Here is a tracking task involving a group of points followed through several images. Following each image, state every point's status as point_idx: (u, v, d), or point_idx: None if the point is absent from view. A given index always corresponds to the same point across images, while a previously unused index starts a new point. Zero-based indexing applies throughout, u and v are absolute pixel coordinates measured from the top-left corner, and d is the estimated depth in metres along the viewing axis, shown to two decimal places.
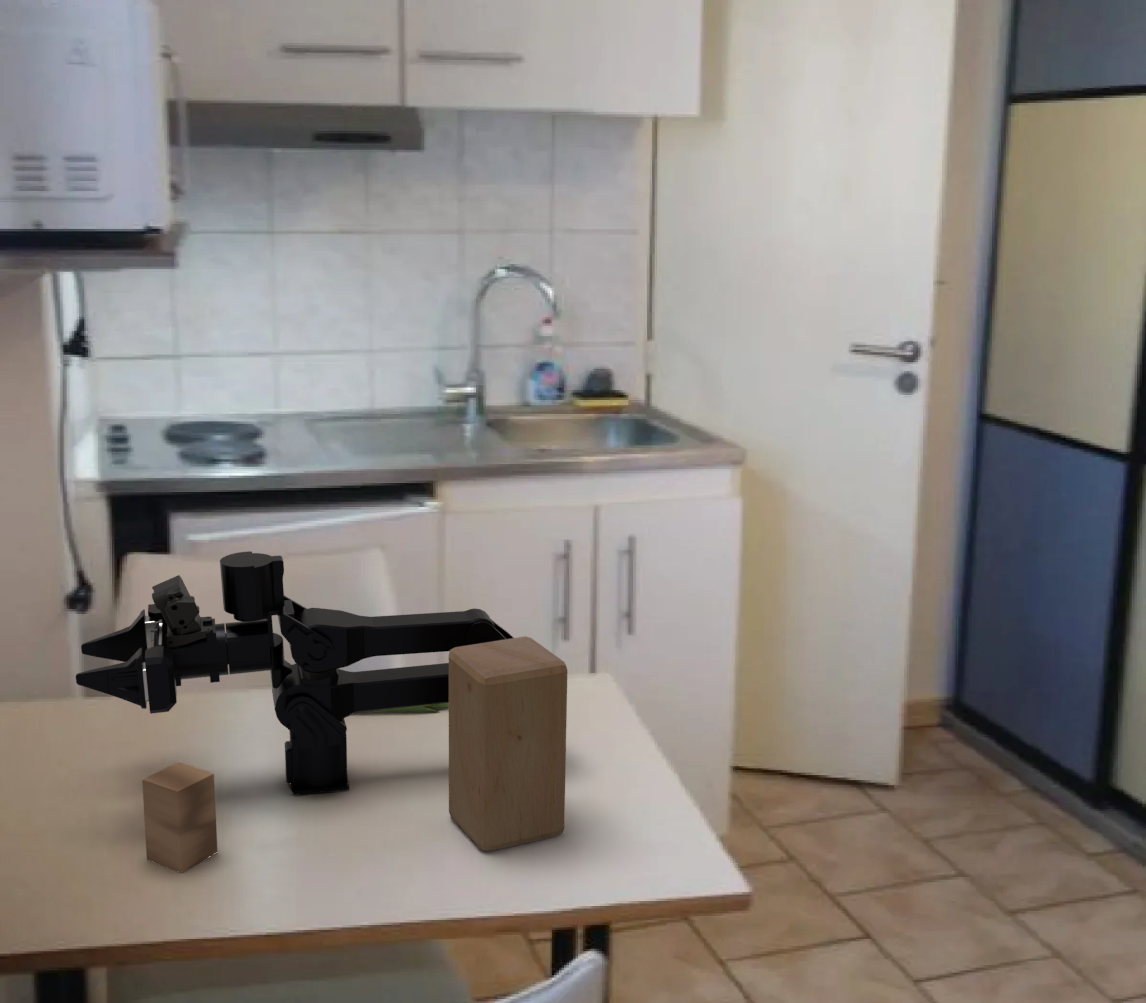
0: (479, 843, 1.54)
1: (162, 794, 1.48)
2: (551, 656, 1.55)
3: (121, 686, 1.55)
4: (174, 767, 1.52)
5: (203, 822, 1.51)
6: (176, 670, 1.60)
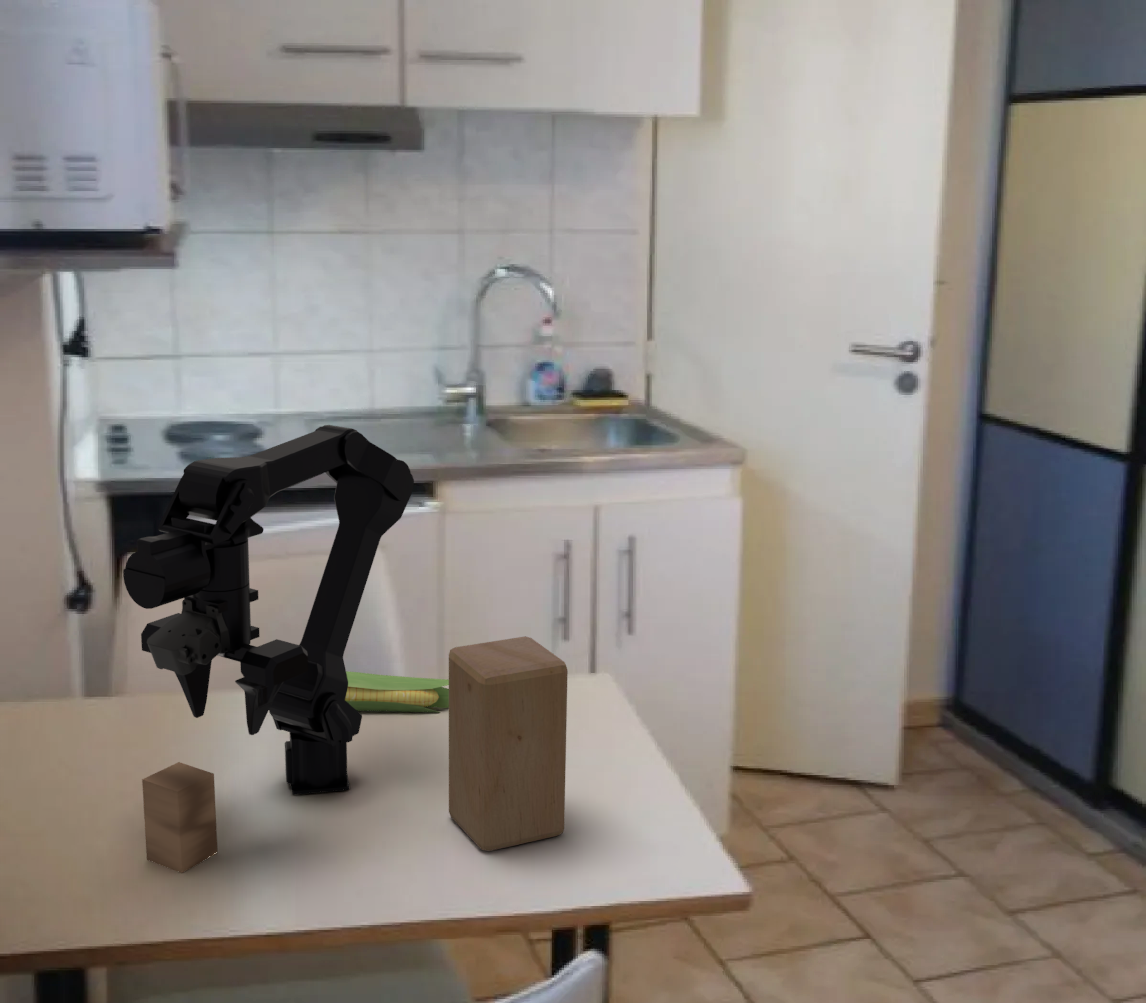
0: (479, 843, 1.54)
1: (162, 794, 1.48)
2: (551, 656, 1.55)
3: (267, 692, 1.52)
4: (174, 767, 1.52)
5: (203, 822, 1.51)
6: (248, 636, 1.52)
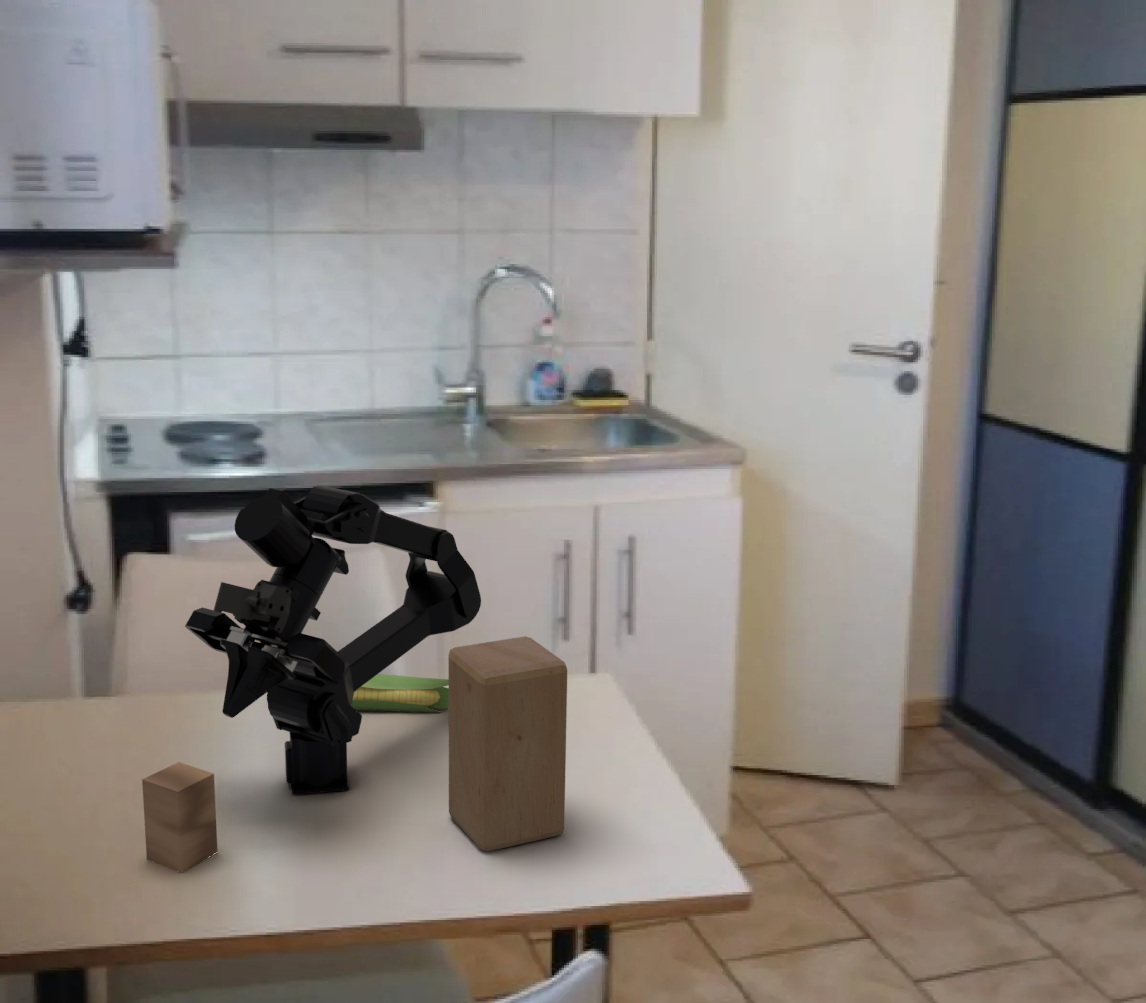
0: (479, 843, 1.54)
1: (162, 794, 1.48)
2: (551, 656, 1.55)
3: (262, 683, 1.57)
4: (174, 767, 1.52)
5: (203, 822, 1.51)
6: None
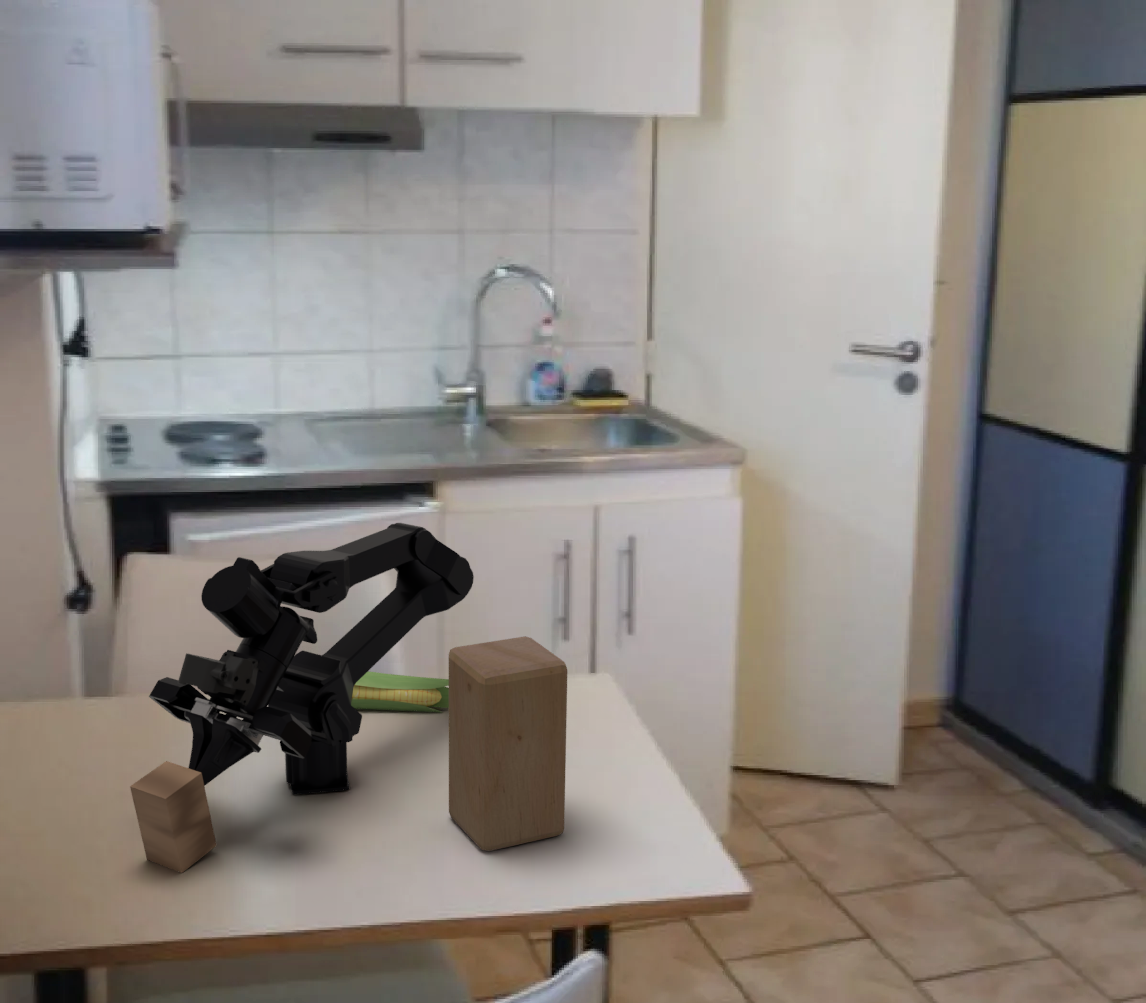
0: (479, 843, 1.54)
1: (151, 800, 1.47)
2: (551, 656, 1.55)
3: (226, 757, 1.54)
4: (162, 768, 1.51)
5: (197, 820, 1.50)
6: None
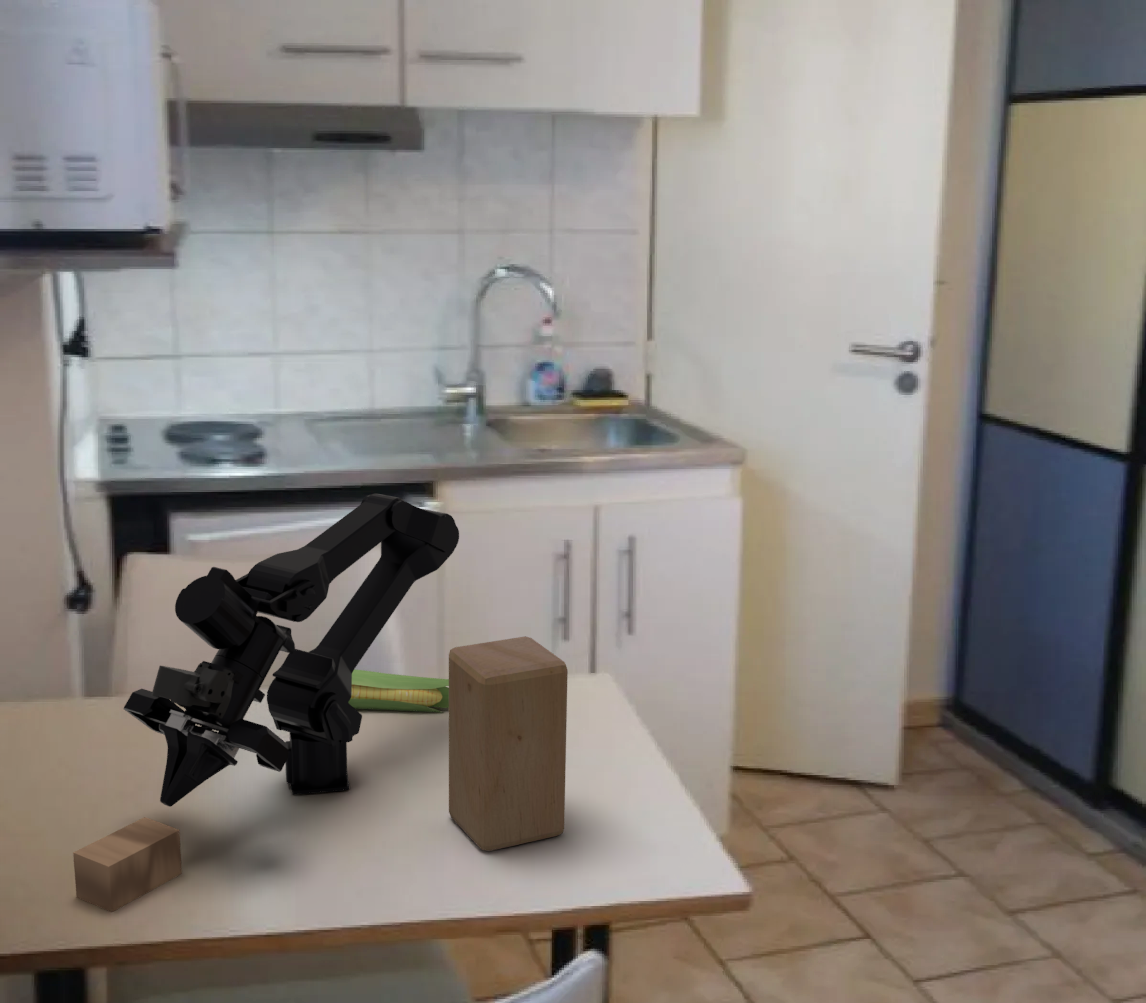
0: (479, 843, 1.54)
1: None
2: (551, 656, 1.55)
3: (202, 770, 1.51)
4: (78, 865, 1.43)
5: (147, 862, 1.45)
6: None
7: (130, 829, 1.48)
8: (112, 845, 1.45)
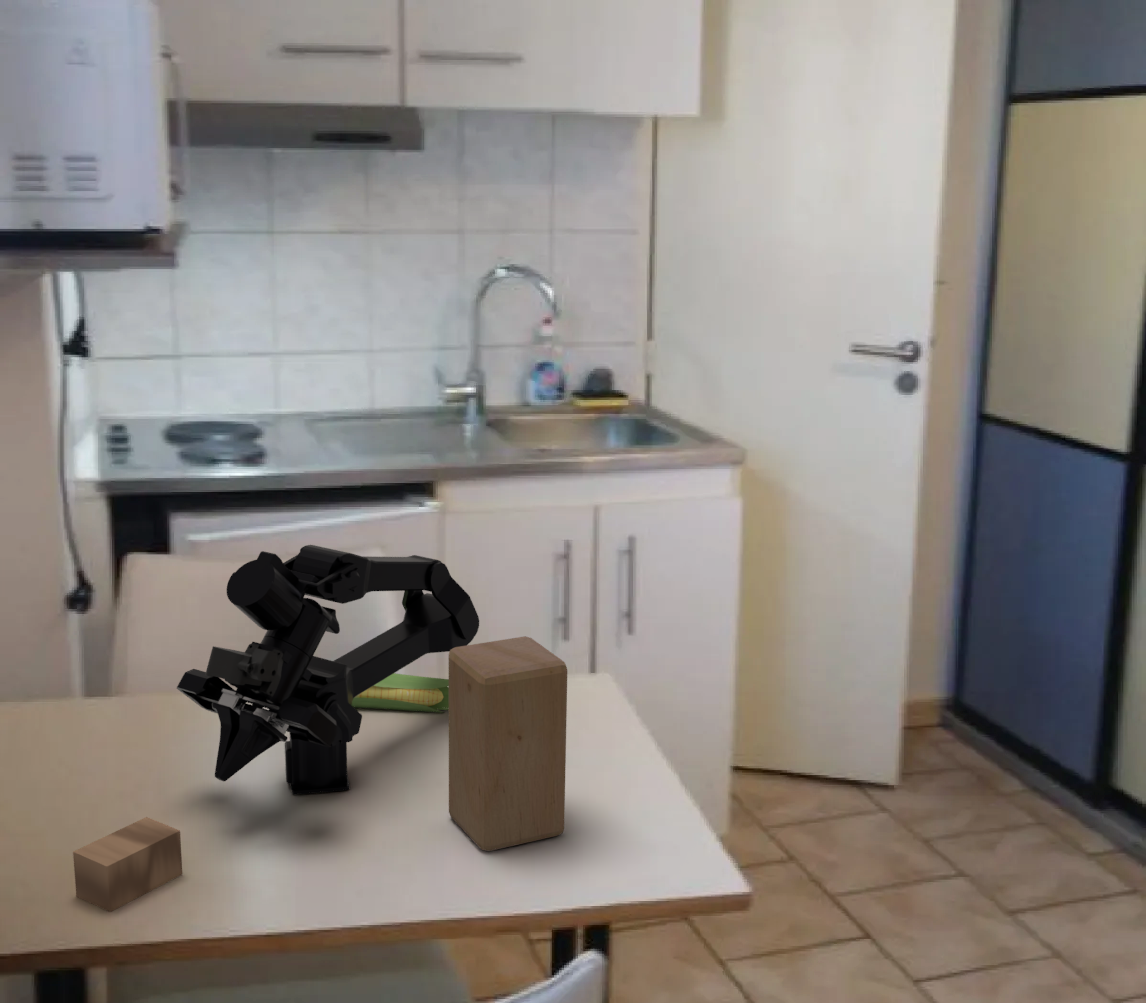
0: (479, 843, 1.54)
1: None
2: (551, 656, 1.55)
3: (254, 746, 1.57)
4: (78, 864, 1.43)
5: (147, 863, 1.45)
6: None
7: (131, 829, 1.48)
8: (112, 845, 1.45)
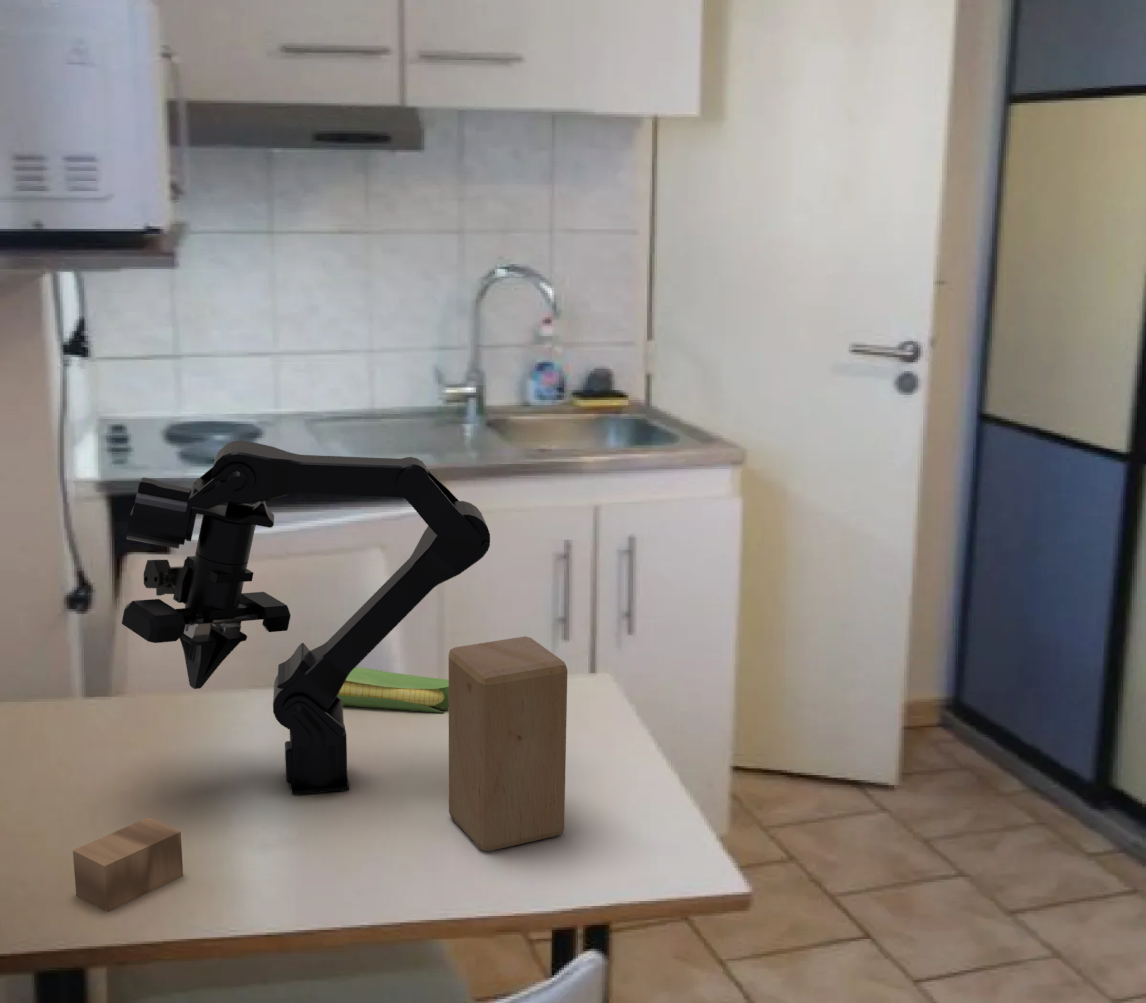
0: (479, 843, 1.54)
1: None
2: (551, 656, 1.55)
3: (196, 653, 1.62)
4: (77, 863, 1.43)
5: (146, 863, 1.45)
6: (196, 606, 1.60)
7: (132, 829, 1.48)
8: (112, 844, 1.45)
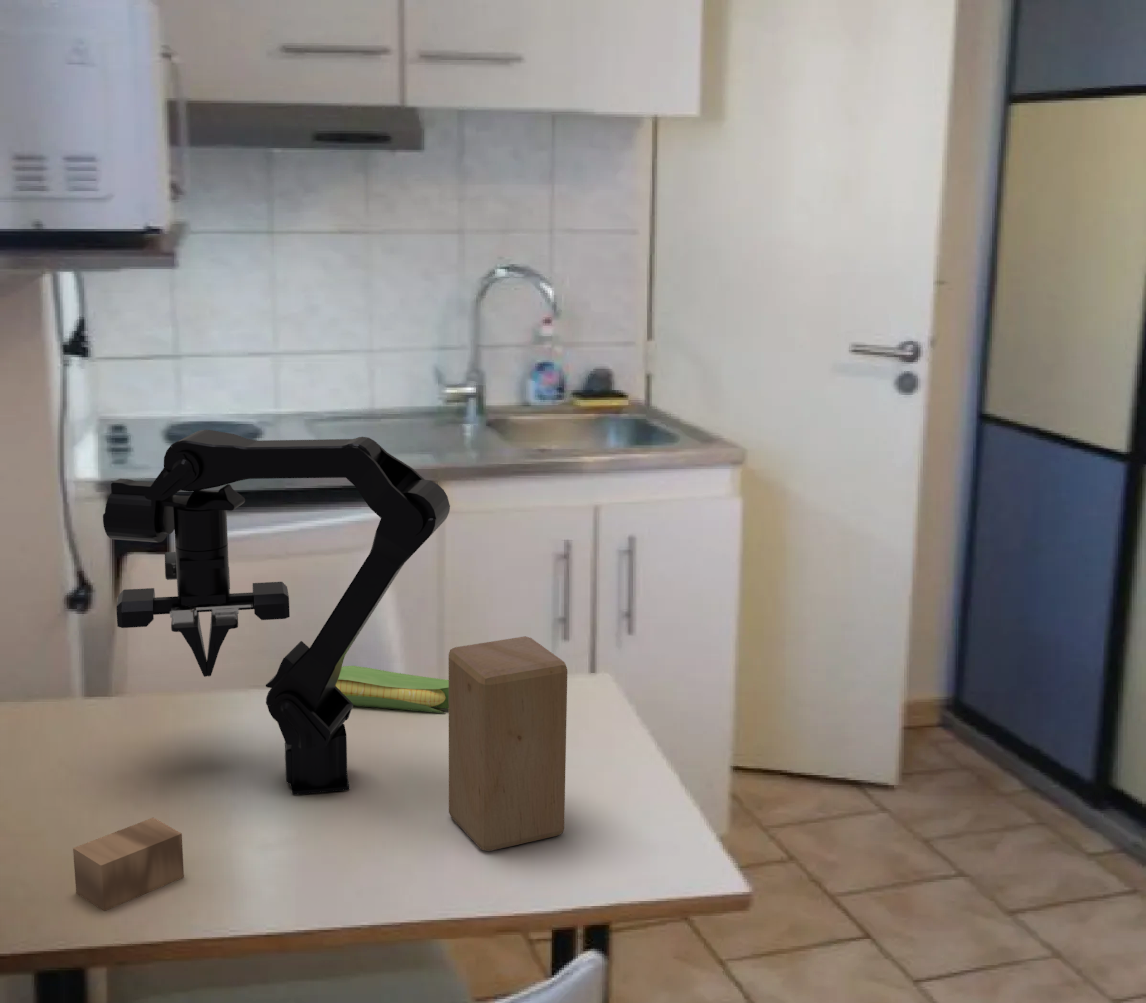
0: (479, 843, 1.54)
1: None
2: (551, 656, 1.55)
3: None
4: (77, 861, 1.44)
5: (145, 864, 1.45)
6: (178, 594, 1.65)
7: (135, 829, 1.48)
8: (112, 844, 1.45)
